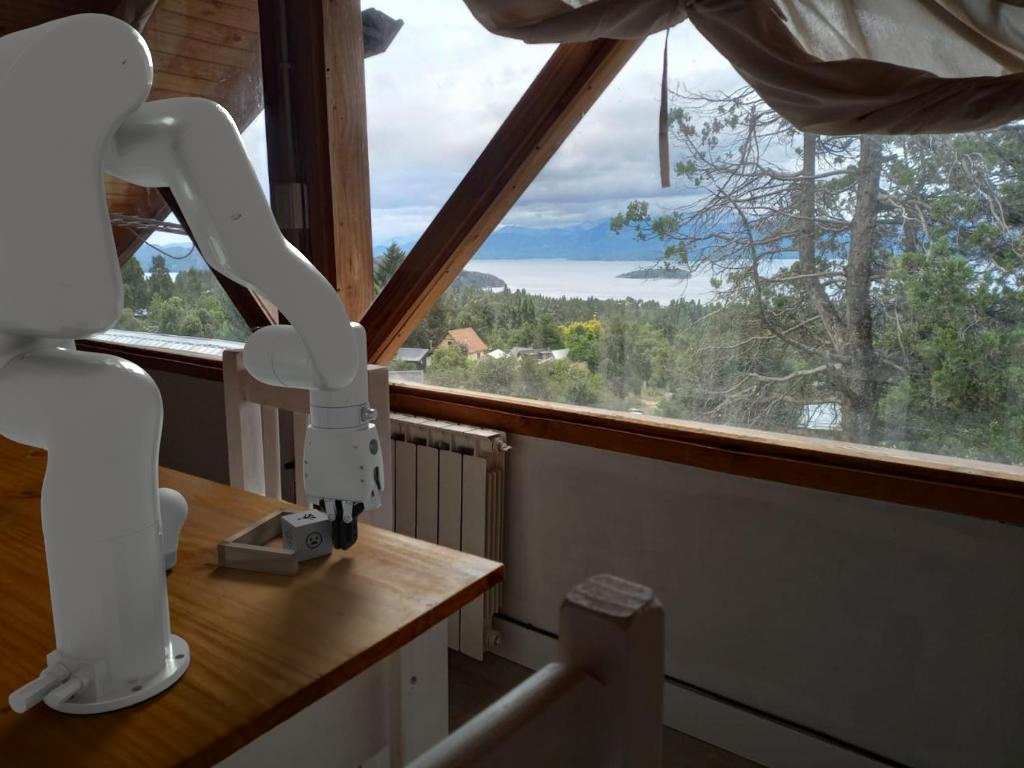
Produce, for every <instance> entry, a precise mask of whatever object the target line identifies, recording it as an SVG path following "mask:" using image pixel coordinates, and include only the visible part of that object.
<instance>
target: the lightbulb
mask: <svg viewBox="0 0 1024 768" xmlns="http://www.w3.org/2000/svg"><path fill="white" fill-rule="evenodd" d="M159 501H160V514H161V523H162V535H163V547H164V559H165V571H169V570H170V569H171V568H173V567H174V566H175V565H176V564H177V563H178V561H177V559H178V557H177V556H178V554H177V550H178V548H179V536H180V533H181V530H182V529H183V527H184V524H185V522H186V519H187V517H188V512H189V508H188V507H189V506H188V503H187V500H186V498H185V497H184V496H183V495H182V494H181V493H180V492H178V491H177V490H175V489H172V488H169V487H159Z"/></svg>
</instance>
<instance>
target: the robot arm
mask: <svg viewBox="0 0 1024 768" xmlns="http://www.w3.org/2000/svg"><path fill="white" fill-rule="evenodd" d="M153 66H154V65H153V59H152V55H151V52H150V50H149V47H148V45H147V42H146V41H145V39H144V38H143V36H142V35H141V34H140V33H139V32H138V31H137V30H136V29H135V28H134V27H133V26H132V25H131V24H129V23H127V22H125V21H124V20H123V19H119V18H117V17H115V16H111V15H108V14H105V13H93V12H92V13H91V12H90V13H89V12H88V13H87V12H86V13H78V14H73V15H69V16H65V17H60V18H57V19H54V20H51V21H47V22H44V23H41V24H39V25H35V26H32V27H29V28H26V29H21V30H18V31H15V32H11V33H8V34H6V35H3V36H1V37H0V435H1V436H3V437H5V438H7V439H9V440H11V441H14V442H16V443H19V444H22V445H26V446H31V447H34V448H39V449H43V450H45V451H47V464H46V469H45V474H44V479H43V482H42V486H41V495H40V498H41V499H40V515H41V516H40V517H41V527H42V534H43V538H44V539H43V541H44V548H45V549H44V550H45V556H46V557H45V558H46V565H47V574H48V582H49V583H48V584H49V591H50V601H51V609H52V619H53V625H54V627H53V628H54V634H55V644H56V649H54V650H51V652H49V653H47V654H46V656H45V657H46V664H47V667H46V668H44V669H42V670H41V671H40V673H39V677H38V678H36V679H34V680H31V681H30V682H28V683H26V684H24V685H22V686H21V687H20V688H17V689H16V690H15V691H13V692H12V693H10V694H9V696H8V704H9V705H10V707H11V709H12V710H13V711H14V712H16V713H18V714H23V713H25V712H26V711H28V710H30V709H31V708H32V707H34V706H35V705H37V704H38V703H40V702H41V701H43V702H44V704H45V705H46V706H48V707H49V708H50V709H52V710H55V711H58V712H62V713H66V714H72V715H89V714H90V715H91V714H102V713H106V712H112V711H116V710H119V709H123V708H127V707H130V706H133V705H135V704H139V703H141V702H144V701H145V700H148V699H150V698H153V697H154V696H157V695H158V694H161V692H163V691H164V690H167V689H168V688H169V687H171V686H172V685H173V684H174V683H175V682H177V681H178V680H179V679H180V678H181V677H182V675H184V673H185V672H186V671H187V668H188V667H189V665H190V661H191V653H190V646H189V644H188V642H187V641H186V640H185V639H184V638H182V637H180V636H178V635H177V634H173V633H172V632H171V621H170V610H169V608H170V607H169V598H168V596H169V595H168V585H167V572H166V571H167V570H165V559H164V547H163V535H162V523H161V514H160V501H159V488H160V487H159V455H160V454H159V453H160V446H161V445H160V444H161V438H162V430H163V423H164V422H163V421H164V405H163V404H164V403H163V399H162V398H163V397H162V395H161V392H160V389H159V387H158V386H157V384H156V382H155V380H154V379H153V378H152V377H151V376H150V374H149V373H147V371H146V370H144V368H141V366H139V365H138V364H136V363H134V362H132V361H130V360H128V359H125V358H122V357H120V356H117V355H112V354H108V353H100V352H92V351H83V350H77V347H76V341H75V340H85V339H86V340H87V339H92V338H95V337H98V336H100V335H103V334H105V333H107V332H109V331H110V330H111V329H112V328H113V327H114V326H115V325H116V324H117V323H118V322H119V320H120V319H121V317H122V313H123V310H124V306H125V291H124V289H125V288H124V282H123V279H122V278H123V277H122V271H121V266H120V262H119V259H118V258H119V257H118V253H117V248H116V243H115V238H114V233H113V227H112V224H111V219H110V217H111V216H110V213H109V208H108V203H107V196H106V195H107V194H106V187H105V177H104V175H105V173H106V174H109V175H110V176H112V177H113V176H114V177H115V178H117V179H120V180H122V181H126V182H127V183H130V184H133V185H136V186H139V187H144V188H164V187H165V188H169V189H170V191H171V193H172V195H173V197H174V199H175V201H176V203H177V205H178V207H179V208H180V211H181V213H182V215H183V217H184V219H185V221H186V223H187V225H188V227H189V229H190V231H191V233H192V235H193V237H194V240H195V241H196V245H198V248H199V250H200V252H201V255H202V256H203V258H204V260H205V262H206V263H207V264H208V265H209V266H210V267H211V268H212V269H214V270H215V271H217V272H218V273H220V274H222V275H223V276H224V277H226V278H228V279H230V280H232V281H233V282H235V283H237V284H238V285H240V286H242V287H245V288H247V289H249V290H250V291H252V292H253V293H256V294H257V295H259V296H261V297H262V298H264V300H266V301H268V302H269V303H270V304H271V305H273V307H275V308H276V309H277V310H278V311H279V312H280V313H281V314H282V315H283V316H284V317H285V318H286V319H287V321H288V322H289V323H290V325H289V324H271V325H270V324H269V325H267V326H264V327H260V329H257V330H256V331H254V332H253V333H252V334H251V335H249V337H248V339H247V340H246V342H245V344H244V346H243V349H242V360H243V365H244V367H245V369H246V371H247V372H248V374H249V375H250V376H252V377H253V378H254V379H255V380H257V381H259V382H261V383H263V384H266V385H269V386H274V387H281V388H288V389H302V390H307V391H308V390H309V412H310V423H309V424H308V425H307V428H306V432H305V438H304V446H303V462H302V463H303V465H302V468H303V472H302V474H303V475H302V476H303V478H302V479H303V487H304V491H305V493H306V494H307V495H306V501H307V502H308V503H311V504H314V505H316V506H320V508H321V509H322V510H323V511H324V513H327V517H328V519H329V520H330V521H332V537H331V538H332V540H333V545H334V550H338V551H339V550H342V551H348V550H349V549H350V548H351V547H353V546H354V545H355V544H356V543H357V540H358V538H359V534H358V533H359V532H358V530H359V529H358V528H359V526H358V518H359V516H361V514H362V513H363V512H364V511H367V512H368V511H373V510H374V511H375V510H376V509H379V508H380V507H381V506H382V500H381V495H380V493H382V492H383V491H384V489H385V473H384V460H383V454H382V448H381V442H380V438H379V437H380V436H379V434H378V429H377V427H376V424H375V423H370V422H371V420H376V419H377V418H378V414H379V413H378V410H377V409H376V408H372V407H371V403H370V402H369V379H368V378H369V376H368V375H369V373H368V350H367V349H368V348H367V332H366V329H365V327H364V325H362V324H360V323H357V322H355V321H350V319H349V316H348V313H347V310H346V308H345V305H344V304H343V302H342V300H341V298H340V296H339V294H338V293H337V291H336V290H335V288H334V287H333V285H332V284H331V283H330V282H329V281H328V280H327V278H326V277H325V276H324V275H323V274H322V273H321V272H320V271H319V270H318V269H317V268H316V266H315V265H314V264H312V262H311V261H310V260H308V258H306V256H305V255H304V254H303V253H302V252H300V250H298V248H296V247H295V246H293V245H292V244H291V243H290V242H289V241H288V240H287V239H286V238H285V237H284V235H283V233H282V232H281V230H280V227H279V225H278V223H277V221H276V218H275V216H274V213H273V211H272V210H273V209H272V208H271V206H270V204H269V202H268V199H267V196H266V195H265V193H264V190H263V187H262V184H261V183H260V180H259V178H258V175H257V173H256V170H255V167H254V165H253V162H252V160H251V157H250V155H249V152H248V150H247V149H246V148H247V147H246V146H245V143H244V141H243V137H242V136H241V134H240V131H239V128H238V126H237V125H236V122H235V120H234V119H233V118H232V116H231V115H230V113H229V112H228V111H227V110H226V109H225V108H224V107H223V106H221V104H219V103H217V102H215V101H214V100H211V99H207V98H204V97H198V96H197V97H195V96H194V97H193V96H182V97H181V96H179V97H172V98H171V97H170V98H164V99H157V100H152V101H147V99H148V98H149V95H150V93H151V89H152V86H153V79H154V67H153ZM104 172H105V173H104Z"/></svg>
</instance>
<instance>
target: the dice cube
mask: <svg viewBox="0 0 1024 768" xmlns="http://www.w3.org/2000/svg"><path fill="white" fill-rule="evenodd" d="M303 511H304V512H299V513H295V514H290V515H286V516H282V517H281V522H282V532H281V536H282V537H281V539H282V540H281V541H282V549H287V550H295V551H297V557H298V563H300V562H304V561H308V560H312V559H316V558H319V557H323V556H327V555H330V554H333V545H332V544H333V543H332V540H333V538H332V537H331V521H330V520H329V519H328V517H327V516H326V515H324V514H323V513H324V512H321V511H320V510H318V509H317V508H314V509H313V508H312V509H309V510H303Z"/></svg>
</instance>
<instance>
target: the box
mask: <svg viewBox="0 0 1024 768" xmlns="http://www.w3.org/2000/svg"><path fill="white" fill-rule="evenodd" d="M304 511H305V510H299V509H292V508H283V507H282V508H281V507H279V508H278V509H277V510H275V511H273V512H271V513H270V514H268V515H266V516H264V517H263V518H261V519H259V520H258V521H255V522H254V523H252V524H250V525H248V526H247V527H245V528H243V529H242V530H239V532H236V533H234V534H233V535H231V536H229V537H228V538H226V539H225V540H223V541H221V542H219V543H217V544H216V550H217V562H218V567H223V568H231V569H238V570H245V571H250V572H251V571H252V572H259V573H266V574H274V575H280V576H287V577H294V576H296V575H297V574H298V573H299V562H298V557H297V551H295V550H287V549H283V548H279V547H270V546H264V544H265V543H267V542H268V541H270V540H271V539H274V538H275V537H276V536H278V535H279V534H282V522H281V517H282V516H286V515H290V514H295V513H299V512H304ZM322 513H323V514H324V515H326V516H327V513H326V512H322ZM331 538H333V537H332V521H331Z"/></svg>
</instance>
